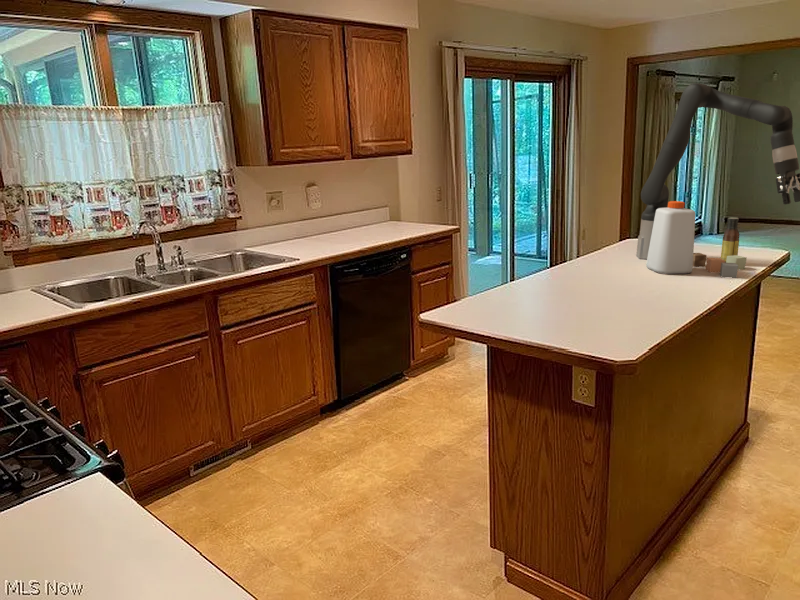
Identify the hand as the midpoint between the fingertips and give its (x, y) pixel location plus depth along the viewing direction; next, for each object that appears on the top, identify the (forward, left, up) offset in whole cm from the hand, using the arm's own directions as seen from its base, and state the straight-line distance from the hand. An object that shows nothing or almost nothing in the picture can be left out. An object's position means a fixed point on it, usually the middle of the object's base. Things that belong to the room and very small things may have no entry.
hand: (792, 202), depth 219 cm
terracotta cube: (-20, +11, -29) cm, 37 cm away
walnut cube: (-24, +21, -29) cm, 43 cm away
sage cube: (-10, +17, -29) cm, 35 cm away
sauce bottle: (-10, +25, -29) cm, 40 cm away
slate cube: (-18, +2, -29) cm, 34 cm away
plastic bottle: (-38, +10, -29) cm, 49 cm away
